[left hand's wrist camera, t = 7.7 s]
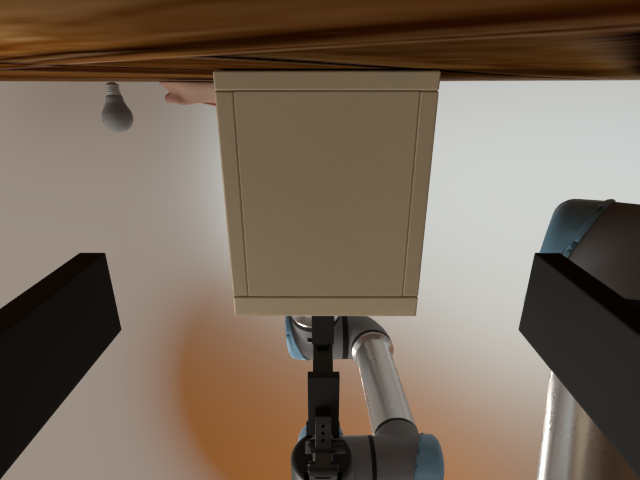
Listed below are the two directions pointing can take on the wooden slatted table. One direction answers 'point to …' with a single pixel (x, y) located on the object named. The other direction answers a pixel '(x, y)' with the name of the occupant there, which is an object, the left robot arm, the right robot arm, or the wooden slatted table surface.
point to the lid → (325, 305)
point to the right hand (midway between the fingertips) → (323, 328)
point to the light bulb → (116, 110)
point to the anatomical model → (190, 92)
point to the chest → (326, 179)
